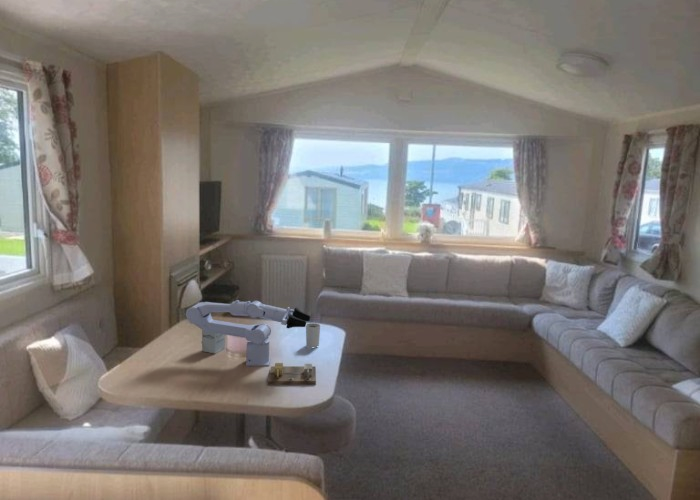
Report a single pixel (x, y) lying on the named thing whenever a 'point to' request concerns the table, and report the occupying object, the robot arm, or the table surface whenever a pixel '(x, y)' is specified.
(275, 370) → the brass leg
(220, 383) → the table surface
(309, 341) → the drinking glass
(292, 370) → the gauge board
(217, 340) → the supplement box
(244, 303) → the robot arm
